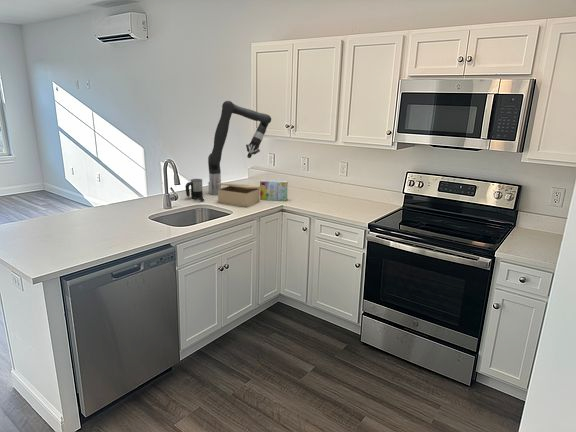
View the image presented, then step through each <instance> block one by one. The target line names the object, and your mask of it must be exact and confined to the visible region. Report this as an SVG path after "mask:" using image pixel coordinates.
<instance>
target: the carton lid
mask: <svg viewBox="0 0 576 432" xmlns="http://www.w3.org/2000/svg"><path fill="white" fill-rule="evenodd" d="M217 184H219V185H221V186H226V187H228V186H234V187H241V188H257V189H260V186H254V185H248V184H239V183H232V182H230V183H229V182H221V183H217Z"/></svg>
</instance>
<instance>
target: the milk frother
mask: <svg viewBox="0 0 576 432" xmlns="http://www.w3.org/2000/svg"><path fill="white" fill-rule="evenodd" d="M184 188H185V194H186V195H185V196H186V197H189V198H190V199H191V198H192V200H198V201H200V202H203V201H205V199H204V195H203V178H192V179H190V181H188V182H187V183H186V184H185V187H184Z"/></svg>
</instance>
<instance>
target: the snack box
mask: <svg viewBox="0 0 576 432" xmlns="http://www.w3.org/2000/svg"><path fill="white" fill-rule="evenodd" d="M288 182H289V181H288V180H270V179H261V180H260V182H259V187H260V200H261V201H262V200H264V201H279V202H281V201H283V202H284V201H285V202H286V201H288V190H289V189H288V186H289V184H288Z"/></svg>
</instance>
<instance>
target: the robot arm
mask: <svg viewBox="0 0 576 432" xmlns="http://www.w3.org/2000/svg"><path fill="white" fill-rule="evenodd" d="M221 108H222V109H221V114H220V118H219V121H218V122H217V125H216V129H215V132H214V138H213V148H212V149H211V153H210V154H209V155H208V158H207V163H208V177H209V178H208V180H209V181H208V183H207V185H208V194H209V195H212V196H213V195H214V196H218V190H219V189H222V185H219V184H217V183H222V179H221V177H222V176H221V174H222V173H221V160H222V154H223V153H222V152H223V149H224V146H225V143H226V140H227V136H228V132H229V128H230V120H231V117H232V115H233V114H234V115H235V114H236V115H238V116H241V117H244V118H246V119H248V120H252V121H256V122H259V124H258V126H257V128H256V131H255V132H254V134H253V136H252V138H251V141H250V143H249V144H245V147H246V152H247V155H246V157H247V158H248V159H251V158H252V156H253V155H256V154H258V153H260V152H261V150H260V145H261V143H262V141H263V139H264V136H265V134H266V132H267V128H268V126H269V124H270V123H271V122H272V117H271V115H270V114H266V113H263V112H259V111H256V110H253V109H250V108H246V107H242V106H239V105H236V104H235V103H233V102H232V101H231V100H225V101H224V102H223V103H222V105H221Z"/></svg>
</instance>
